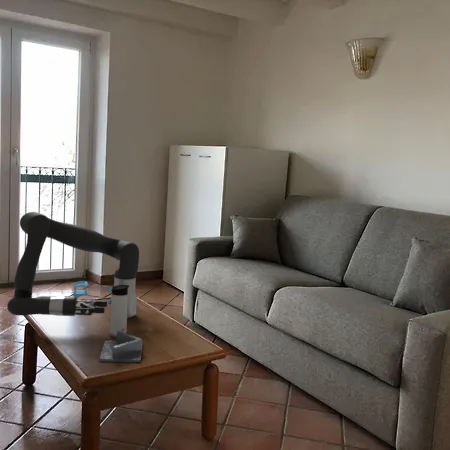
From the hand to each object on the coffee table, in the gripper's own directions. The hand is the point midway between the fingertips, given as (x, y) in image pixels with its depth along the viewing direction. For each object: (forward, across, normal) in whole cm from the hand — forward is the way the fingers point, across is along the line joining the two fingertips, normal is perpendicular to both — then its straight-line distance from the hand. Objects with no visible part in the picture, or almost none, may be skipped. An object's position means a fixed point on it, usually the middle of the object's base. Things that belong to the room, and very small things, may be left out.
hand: (105, 307), depth 203 cm
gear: (0, +46, +11) cm, 47 cm away
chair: (-16, +36, +11) cm, 41 cm away
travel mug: (+5, 0, +11) cm, 12 cm away
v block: (+7, -18, +11) cm, 23 cm away
